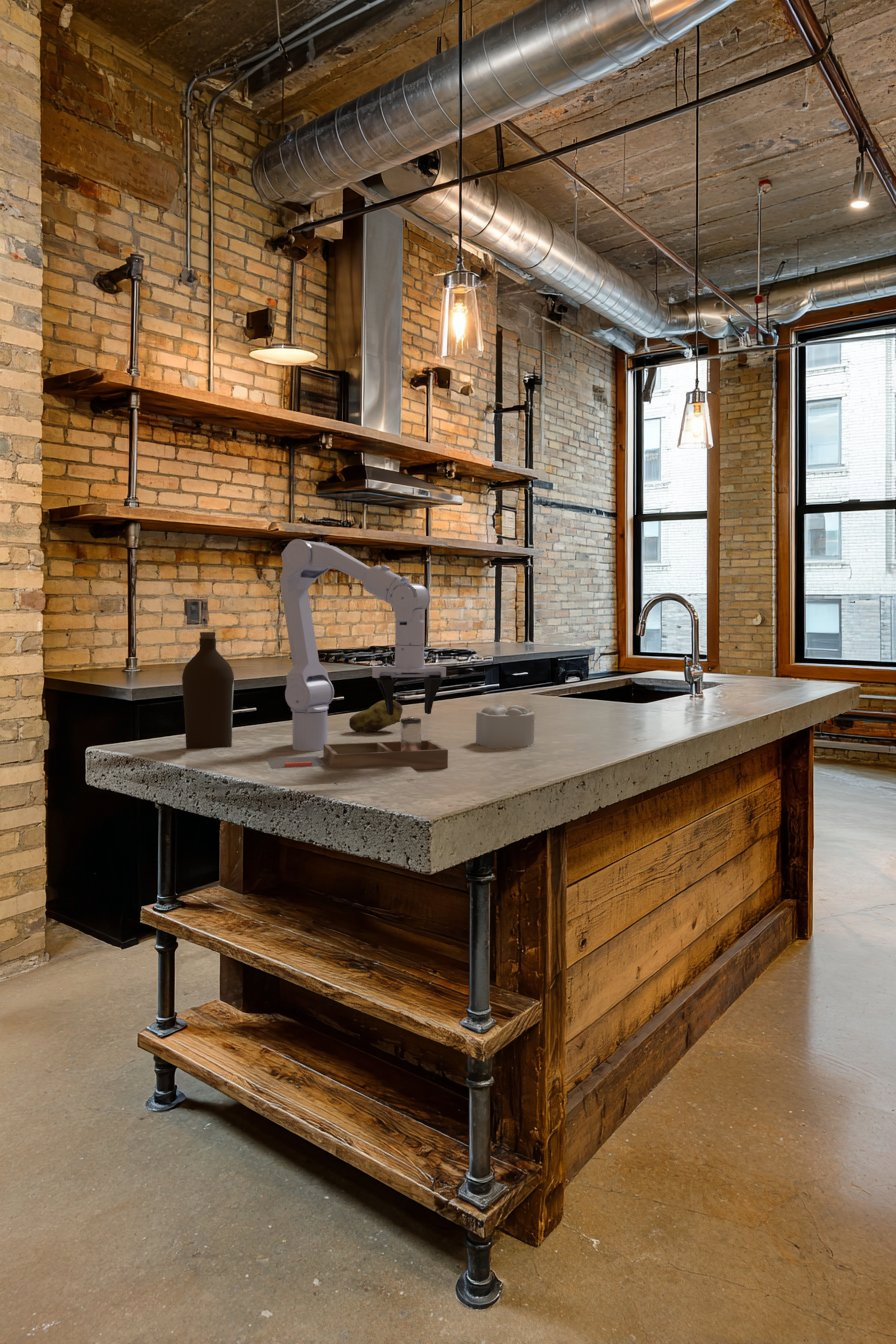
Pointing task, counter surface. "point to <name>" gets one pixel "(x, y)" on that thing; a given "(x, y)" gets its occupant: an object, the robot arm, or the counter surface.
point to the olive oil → (208, 697)
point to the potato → (375, 717)
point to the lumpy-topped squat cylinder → (505, 727)
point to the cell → (410, 734)
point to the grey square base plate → (295, 762)
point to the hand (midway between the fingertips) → (409, 713)
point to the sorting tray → (385, 755)
